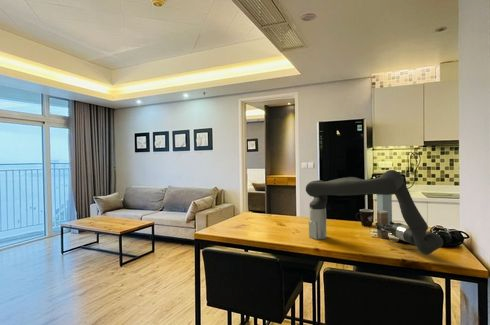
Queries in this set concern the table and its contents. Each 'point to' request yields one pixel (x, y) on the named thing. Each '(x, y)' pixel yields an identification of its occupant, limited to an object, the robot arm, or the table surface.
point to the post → (385, 205)
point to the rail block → (382, 219)
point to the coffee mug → (366, 217)
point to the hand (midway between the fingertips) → (383, 223)
